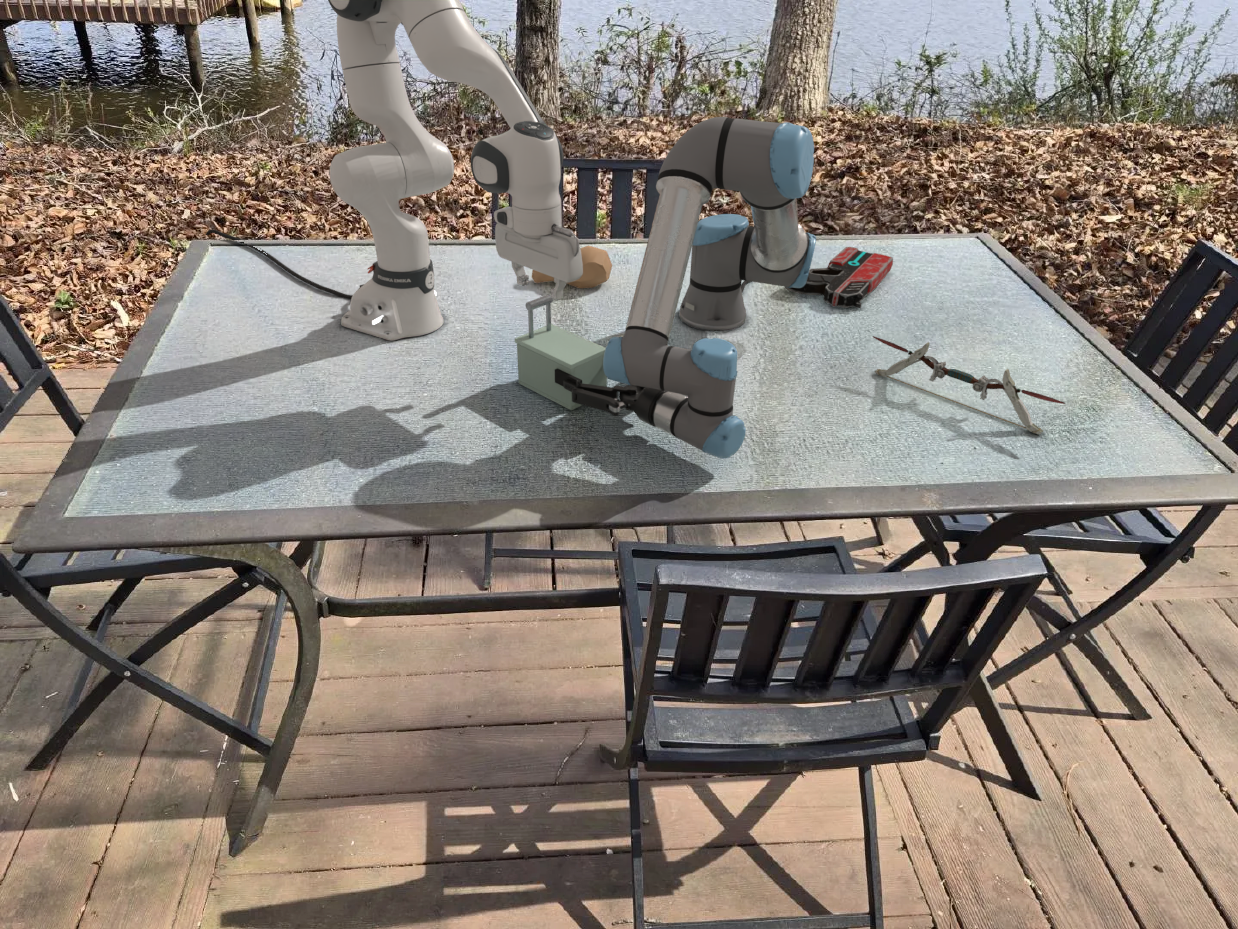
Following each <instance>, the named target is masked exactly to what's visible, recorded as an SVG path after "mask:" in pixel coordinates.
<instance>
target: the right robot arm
mask: <svg viewBox="0 0 1238 929" xmlns="http://www.w3.org/2000/svg"><path fill="white" fill-rule="evenodd" d="M814 153H815V143H814V137H813V134H812V132H811V131H810V129H809V128H808V127H806V126H805V125H800V124H793V123H791V122H789V121H788V122H773V121H764V120H763V121H762V120H753V119H745V118H733V117H729V116H715V117H710V118H707V119H704V120H702V121H700V122H698V123H697V124H695V125H694V126H692V127H691V128H689V129H688V130H687V131H686V132H685V133H684V134H683V135H682V136H680V138H679V139H678V140H677V141H676V142H675V143H674V145H673V146H672V147H671V148H670V151H668V152H667V155H666V156H665V158H664V160H663V163H662V165H661V167H660V169H659V173H658V177H657V181H656V183H655V184H656V185H655V188H656V189H655V190H656V191H657V193H658V194H659V197H658V200H657V204H656V208H655V212H654V216H653V219H652V223H651V228H650V230H649V235H648V239H647V243H646V247H645V251H644V255H643V259H642V262H641V266H640V271H639V275H638V279H637V282H636V287H635V290H634V294H633V298H632V300H631V306H630V308H629V309H630V310H629V313H628V318H627V322H626V325H625V331H624V334H623V335H621V336H612V337H611V338H610V339H609V340H608V341H607V345H606V347H605V348H606V349H605V353H604V359H603V369H604V373H605V375H606V376H607V380H609V381H610V380H611V381H614V382H618V383H622V384H625V386H621V385H615V386H613V387H611V386H607V387H605V386H598V385H591V384H584V383H582V380H581V379H579V378H577V377H575V376H573V375H570V374H568V373H566V372H564V371H562V370H560V369H558V368H557V369H555V383H557V384H559V385H561V386H563V387H564V388H565V389H566V390H569V391H570V392H572V402H574V403H578V404H581V405H582V406H585V407H588V408H593V409H595V410H598V411H602V412H605V413H608V414H610V415H611V416H613V417H619V415H620V412H621V411H623V410H625V411H631V412H634V414H635V415H636V417H637V419H639V420H640V421H641V422H643V423H645V424H647V425H649V426H652V427H655V428H657V429H658V430H660V431H662V432H664V433H666V434H669V435H671V436H673V437H675V438H676V439H678V440H680V441H682V442H684V443H686V444H688V445H690V446H692V447H694V448H695V449H698V450H700V451H702V452H703V453H704V454H708V455H709V456H712V457H715V458H718V459H722V460H724V459H725V460H727V459H728V458H731V457H732V456H734V455H736V453H737V452H738V451H739V449H740V448H741V446H742V445H743V443H744V440H745V438H746V433H747V432H746V431H747V429H746V426H745V422H744V420H742V419H741V418H739V417H738V416H736V415H734V398H735V389H736V382H737V377H738V371H737V370H738V350H737V347H736V346H735V345H734V344H733V343H731V342H730V341H728V340H726V339H723V338H718V337H713V338H709V337H706V338H701V339H698V340H696V341H695V342H694V343H693V345H692V347H691V348H684V347H678V346H673V345H668V343H669V339H670V335H671V332H672V328H673V324H674V320H675V316H676V312H677V308H678V304H679V300H680V296H681V292H682V288H683V283H684V279H685V276H686V272H687V268H688V263H689V260H690V271H689V284H688V287H687V289H686V292H685V294H684V296H683V299H682V302H681V304H680V307H679V314H678V316H679V319H680V321H681V322H682V323H683V324H685V325H686V326H688V327H691V328H693V329H696V330H700V331H707V332H729V331H733V330H736V329H738V328H741V327H743V325H744V324H745V323H746V320H747V319H746V318H747V310H746V306H745V301H744V296H743V292H744V290H745V287H746V285H747V284H748V283H750V282H752V283H760V284H764V285H773V286H779V287H784V288H785V287H787V288H791V287H793V288H802V287H803V286H804V285H805V284H806V281H807V278H808V274H809V270H810V269H811V266H812V261H813V257H814V253H815V249H816V243H817V237H816V235H815V234H812V233H810V232H807V231H805V229H804V228H803V227H802V225H800V224H799V213H798V212H799V211H798V199H801V198H802V197H803V196H805V195H806V194H807V192H808V190H809V187H810V186H811V185H810V184H811V182H812V177H813V172H814V165H815V164H814V162H815V157H814ZM714 189H719V190H725V191H726V190H727V191H733V192H739V193H740V196H741V197H742V200H744V201H745V203H746V204H748V205H749V206H750V210H751V215H752V221H753V225H750V222H749V219H748V218H747V217H746V216H744V215H741V214H737V213H735V214H734V213H722V214H721V213H720V214H715V215H710V216H706V217H704V218H701V219H700V216H701V212H702V207H703V206H704V205H706V204H708V203H709V201H710V200H711V196H712V192H713V190H714ZM690 256H691V258H690ZM742 281H743V282H742ZM618 396H619V397H618Z"/></svg>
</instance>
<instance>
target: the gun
mask: <svg viewBox="0 0 1238 929" xmlns="http://www.w3.org/2000/svg"><path fill="white" fill-rule="evenodd" d="M893 265H894V257H892V256H889V255H886V254H882V253H877V252H867V251H863V250H860V249H859V247H853V246H846V247H844V248H843V249H842V250H840V251H839V253H837V254H836V255H835V256H834V257H833V258H832V259H830V260H829V262H828V265H827V267H819V268H818V267H817V268H810V270H809V274H808V278H807V281H806V284H805V285H804V286H803V287H802V288H793V287H791V288H787V287H784V289H785V290H787V291H790V292H792V293H796V294H800V295H803V296H804V295H805V296H823V299H822V300H823V301H824V302H825V303H826V304H827V305H831V307H833V308H836V307H837V308H838V307H839V308H843V309H848V308H852V307H853V308H857V309H861V308H862V304H863V303H862V302H861V301H862V300H863V299H865V297H867V296H869V295H870V294H871V293H872V292H873V291H874V290H875V289H876V288H877V287H878V286H879V285H880V284H881V283H882V282H883V280H884V279H885V278H886V276H887V275H888V274H889V273H890V272H891V270H892V267H893Z"/></svg>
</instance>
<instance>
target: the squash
mask: <svg viewBox="0 0 1238 929" xmlns="http://www.w3.org/2000/svg"><path fill="white" fill-rule="evenodd" d="M580 249H581V255H582V265H583V274H582V276H581V277H580V279H578V280H575V281H572V282H569V283H567V284H568V285H569V286H571V287H574V288H577V289H594V288H596V287H597V286H600V285H602V284H603V283H605V282H607V281H608V280H609V278H610V277H611V276H610V275H611V272H612V268H613V264H612V261H611V258H610V256H609V253H608V251H607V250H605V249H602V248H599V247H596V246H591V245H585V246H583V247H580ZM531 270H532V271H531V279H532V281H533V282H534V283H535V284H539V283H546V282H548V283H549V282H554V277H551V276H548V275H546V274H543V273H541V272H538V271H535V270H533V269H531ZM567 284H566V285H567Z"/></svg>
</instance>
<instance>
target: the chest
mask: <svg viewBox="0 0 1238 929" xmlns="http://www.w3.org/2000/svg"><path fill="white" fill-rule="evenodd" d="M516 352H517V354H516V357H517V358H516V359H517V376H518V378H517V379H518V385H521V386H522V387H525V388H526V389H528V390H531V391H532V392H534V393H536V394H538V395H540V396H542V397H544V398H546V399H548V400H549V401H552V402H554V403H556V404H557V405H560V406H562V407H563V408H566V409H568V410H569V411H574V410H576V409H578V408H580V407H582V406H583V405H581V404H578V403H574V402H572V392H570V391H569V390H566V389H565V388H564V387H563V386H561V385H559V384H557V383H555V369H557V368H558V369H560V370H562V371H564V372H566V373H568V374H570V375H573V376H575V377H577V378H579V379H581V380H582V383H584V384H591V385H598V386H605V387H608V378H607V376H606V375H605V373H604V369H603V359H604V354H603V355H601V356H599V357H596V358H594V359H592V360H590V361H588V362H585V363H583V364H581V365H579V366H577V367H574V368H572V369H570V368H568V367H566V366H564V365H561V364H559V363H557V362H555V361H553V360H551V359H549V358H547V357H545V356H542V355H540V354H538V353H536V352H534V351H532V350H530V349H528V348H526V347H523V346H521V345H519V344H517V343H516Z"/></svg>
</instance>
